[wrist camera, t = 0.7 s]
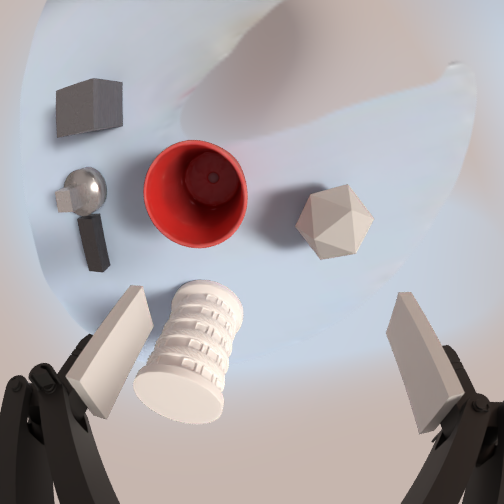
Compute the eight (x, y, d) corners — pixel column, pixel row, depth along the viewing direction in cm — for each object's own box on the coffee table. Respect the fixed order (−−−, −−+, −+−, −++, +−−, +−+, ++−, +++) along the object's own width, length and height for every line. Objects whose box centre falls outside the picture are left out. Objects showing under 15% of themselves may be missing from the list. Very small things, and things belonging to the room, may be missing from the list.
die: (285, 226, 38) (318, 285, 32) (287, 177, 31) (330, 241, 25) (336, 210, 39) (373, 262, 34) (347, 163, 32) (395, 218, 27)
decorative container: (184, 337, 48) (152, 420, 32) (164, 281, 43) (114, 365, 27) (248, 335, 46) (234, 428, 30) (236, 276, 41) (211, 371, 25)
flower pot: (260, 140, 33) (254, 146, 24) (249, 223, 37) (240, 256, 29) (178, 132, 33) (144, 137, 24) (173, 212, 38) (143, 240, 29)
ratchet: (70, 169, 36) (44, 179, 30) (104, 164, 35) (78, 174, 29) (87, 263, 43) (67, 282, 37) (120, 266, 42) (100, 286, 37)
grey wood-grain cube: (86, 91, 30) (56, 90, 24) (122, 82, 30) (93, 78, 23) (87, 132, 33) (57, 137, 27) (122, 125, 33) (93, 129, 26)
